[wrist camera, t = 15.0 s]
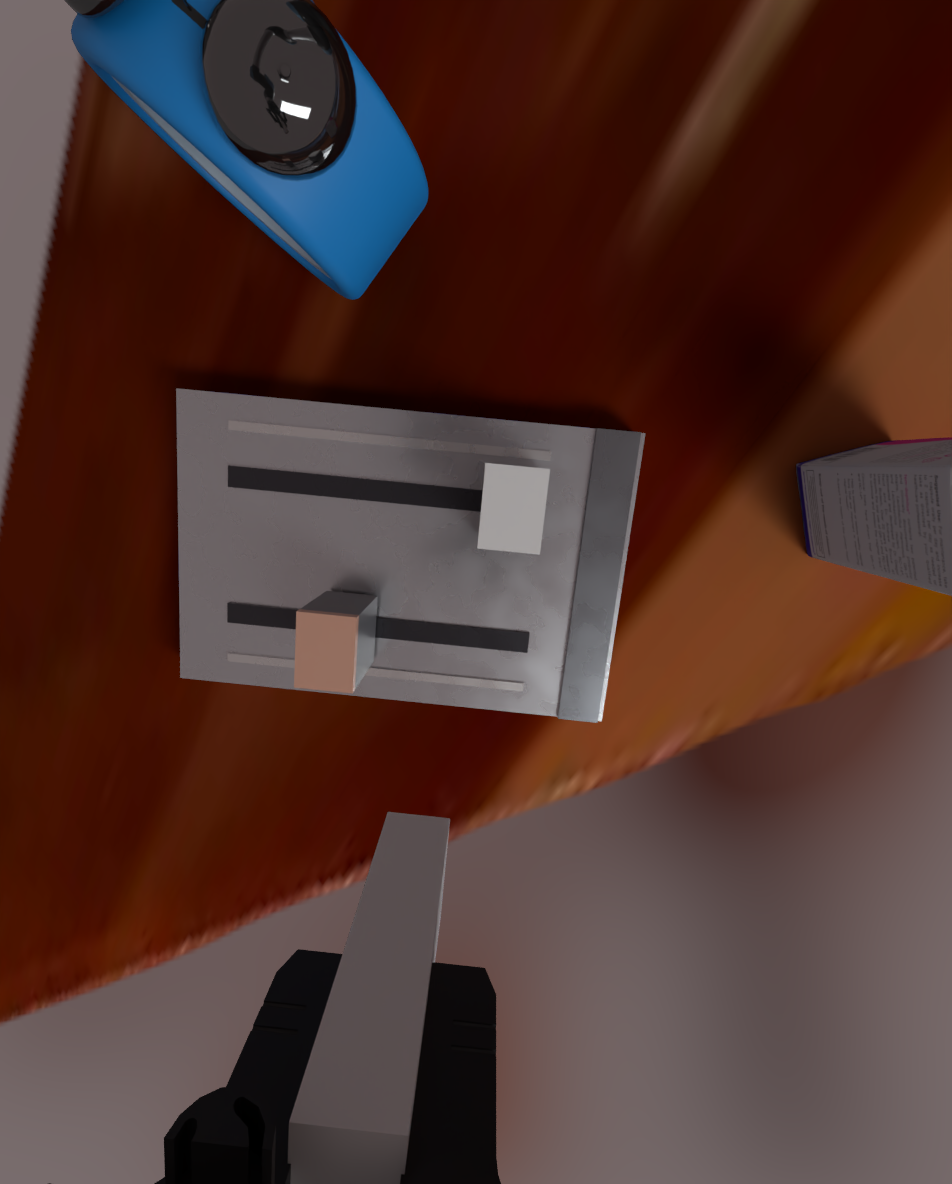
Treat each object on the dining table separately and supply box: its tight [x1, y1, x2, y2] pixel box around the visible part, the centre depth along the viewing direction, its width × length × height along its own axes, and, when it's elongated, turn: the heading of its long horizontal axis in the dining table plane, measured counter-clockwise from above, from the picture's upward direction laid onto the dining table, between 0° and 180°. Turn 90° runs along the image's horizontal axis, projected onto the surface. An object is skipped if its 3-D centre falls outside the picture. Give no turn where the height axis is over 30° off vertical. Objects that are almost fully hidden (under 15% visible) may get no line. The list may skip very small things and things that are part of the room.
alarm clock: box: [65, 0, 428, 300], centre depth 23 cm, size 13×6×15 cm, turn 50°
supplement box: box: [796, 438, 952, 596], centre depth 27 cm, size 6×6×12 cm
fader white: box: [477, 463, 550, 555], centre depth 29 cm, size 4×3×5 cm
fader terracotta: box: [294, 591, 378, 694], centre depth 31 cm, size 4×3×5 cm
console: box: [176, 388, 645, 723], centre depth 33 cm, size 17×26×2 cm, turn 85°
